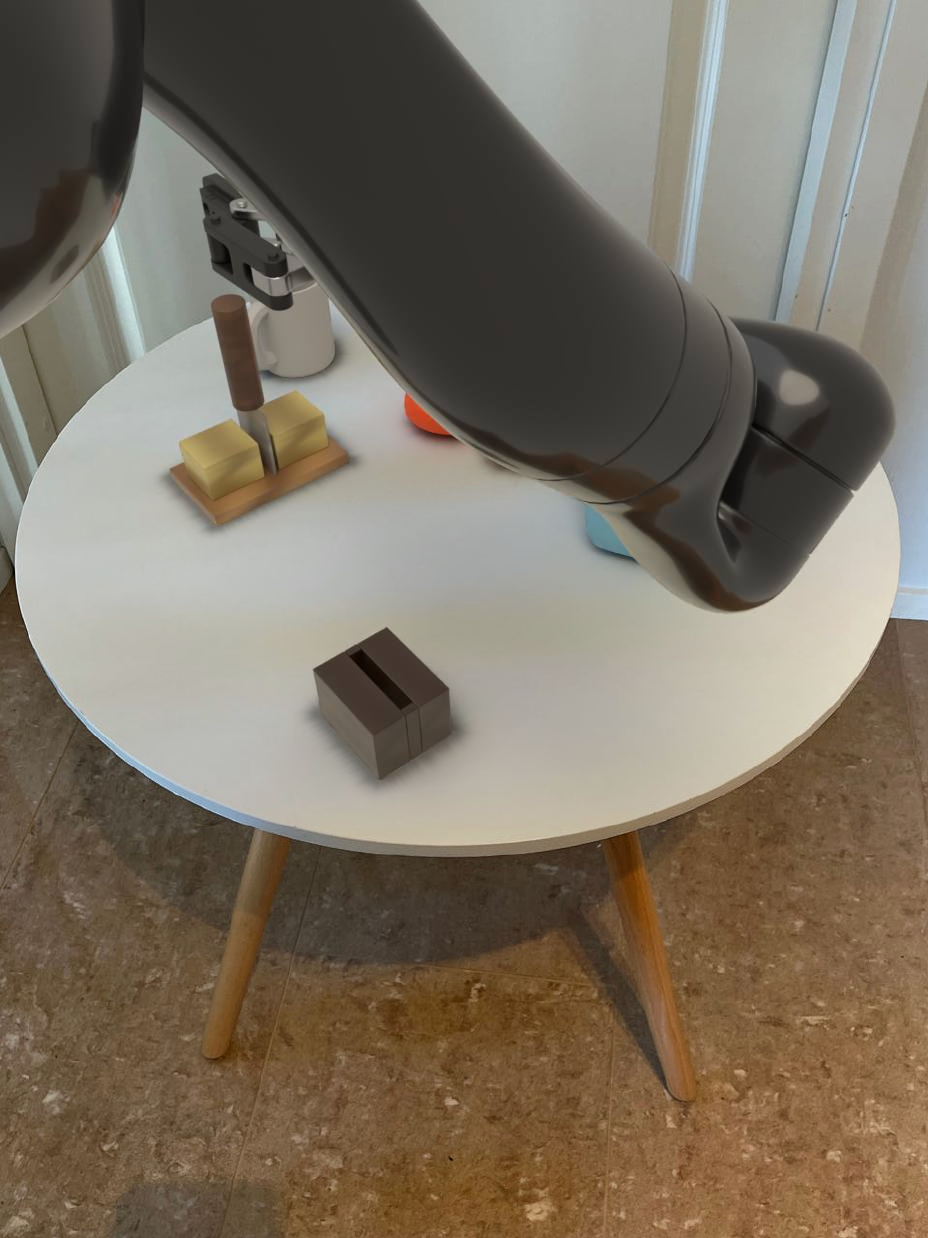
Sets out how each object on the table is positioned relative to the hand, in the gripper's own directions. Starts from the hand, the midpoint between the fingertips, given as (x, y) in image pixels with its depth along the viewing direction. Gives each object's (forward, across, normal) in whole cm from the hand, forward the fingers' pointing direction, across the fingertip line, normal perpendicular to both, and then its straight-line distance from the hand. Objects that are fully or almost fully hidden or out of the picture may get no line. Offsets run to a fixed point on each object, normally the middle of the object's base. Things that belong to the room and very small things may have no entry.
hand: (281, 169), depth 56 cm
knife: (+17, -3, +32) cm, 36 cm away
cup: (+30, -14, +33) cm, 47 cm away
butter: (+17, -3, +33) cm, 38 cm away
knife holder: (-12, +4, +33) cm, 35 cm away
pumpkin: (+13, -20, +33) cm, 41 cm away
